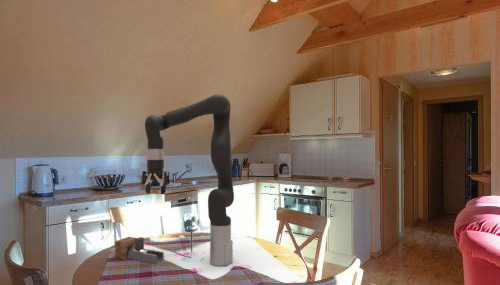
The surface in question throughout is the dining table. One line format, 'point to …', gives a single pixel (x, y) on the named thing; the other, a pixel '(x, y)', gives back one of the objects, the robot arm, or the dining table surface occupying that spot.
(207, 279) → the dining table surface
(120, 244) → the walnut socket block
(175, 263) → the dining table surface
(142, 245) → the grey slider with post
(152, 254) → the metal channel
